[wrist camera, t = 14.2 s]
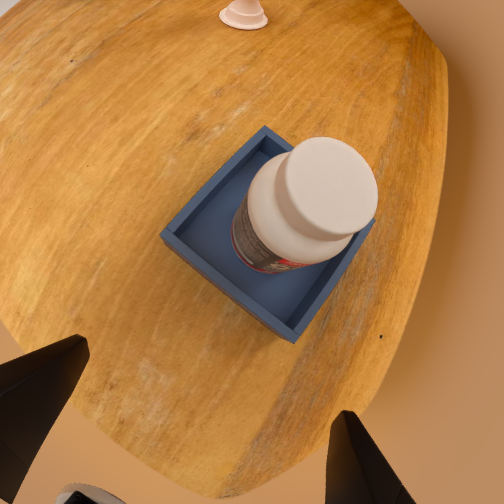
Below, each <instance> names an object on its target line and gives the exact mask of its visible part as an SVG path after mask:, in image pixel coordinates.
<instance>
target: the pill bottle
mask: <svg viewBox="0 0 504 504" xmlns="http://www.w3.org/2000/svg"><path fill="white" fill-rule="evenodd" d="M377 203H378V189H377V184H376V181H375V177H374V175H373V173H372V170H371V169H370V167H369V165H368V164H367V162H366V161H365V160H364V158H363V157H362V156H361V155H360V154H359V153H358V152H357V151H356V150H355V149H353V148H352V147H350V146H349V145H347V144H346V143H344V142H342V141H339V140H337V139H334V138H329V137H315V138H310V139H307V140H305V141H303V142H301V143H300V144H298V145H297V146H296V147H295V148H294V149H293V150H292V151H291V152H286V153H283V154H280V155H278V156H275V157H274V158H272V159H271V160H269V161H268V162H267V163H265V164H264V165H263V166H262V168H261V169H260V170H259V171H258V172H257V174H256V175H255V177H254V179H253V180H252V182H251V185H250V187H249V189H248V191H247V193H246V195H245V197H244V199H243V201H242V202H241V204H240V206H239V208H238V209H237V211H236V213H235V215H234V218H233V221H232V224H231V230H230V234H231V242H232V246H233V249H234V251H235V253H236V254H237V256H238V257H239V259H240V260H241V261H242V262H243V263H244V264H245V265H246V266H248V267H249V268H251V269H253V270H255V271H258V272H261V273H266V274H277V273H283V272H287V271H290V270H294V269H297V268H301V267H305V266H309V265H312V264H316V263H320V262H323V261H325V260H328V259H330V258H332V257H334V256H336V255H337V254H338V253H340V252H341V251H342V250H343V249H344V248H345V247H346V246H347V244H348V243H349V241H350V240H351V238H352V236H353V234H354V233H356V232H358V231H360V230H361V229H363V228H364V227H365V226H366V225H367V224H368V223H369V222H370V221H371V219H372V217H373V216H374V214H375V211H376V208H377Z"/></svg>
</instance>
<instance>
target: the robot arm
mask: <svg viewBox="0 0 504 504" xmlns="http://www.w3.org/2000/svg"><path fill="white" fill-rule="evenodd" d="M89 357H90V352H89V348H88V342H87V339H86V338H85V337H83V336H81V335H78V334H75V335H72V336H70V337H68V338H65V339H63V340H60V341H58V342H55V343H53V344H50V345H48V346H45V347H43V348H41V349H38V350H36V351H33V352H31V353H28V354H26V355H23V356H21V357H18V358H16V359H13V360H11V361H8V362H6V363H3V364H1V365H0V498H1V499H3V500H4V501H5V502H7V503H9V504H12V503H13V501H14V499H15V496H16V495H17V492H18V490H19V488H20V486H21V484H22V482H23V480H24V478H25V476H26V474H27V472H28V470H29V468H30V466H31V464H32V462H33V460H34V458H35V456H36V455H37V452H38V451H39V449H40V447H41V445H42V443H43V442H44V440H45V438H46V436H47V435H48V433H49V431H50V429H51V427H52V426H53V424H54V423H55V421H56V419H57V417H58V416H59V414H60V412H61V411H62V409H63V407H64V406H65V404H66V403H67V401H68V399H69V398H70V396H71V394H72V393H73V391H74V389H75V387H76V385H77V383H78V381H79V379H80V377H81V374H82V372H83V370H84V368H85V366H86V364H87V362H88V360H89ZM64 504H98V503H96V502H95V501H93V500H92V499H90V498H89V497H87V496H86V495H84V494H83V493H81V492H80V491H74V492H73V493H72V494H71V496H70V497H69V498H68V499H67V500H66V501H65V502H64ZM325 504H416V503H415V501H414V500H413V499H412V498H411V496H410V494H409V493H408V492H407V490H406V489H405V487H404V486H403V485H402V483H401V481H400V480H399V478H398V477H397V475H396V474H395V472H394V471H393V469H392V468H391V466H390V465H389V463H388V462H387V460H386V459H385V457H384V456H383V454H382V453H381V451H380V450H379V448H378V447H377V445H376V444H375V442H374V441H373V439H372V438H371V436H370V435H369V433H368V432H367V430H366V429H365V427H364V426H363V424H362V423H361V421H360V420H359V418H358V417H357V415H356V414H355V412H353V411H348V410H343V411H341V412H340V414H339V415H338V416H337V417H336V419H335V420H334V421H333V423H332V425H331V430H330V439H329V447H328V455H327V463H326V495H325Z"/></svg>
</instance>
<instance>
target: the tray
mask: <svg viewBox="0 0 504 504" xmlns="http://www.w3.org/2000/svg"><path fill="white" fill-rule="evenodd" d="M293 149H294V147H293V146H291V145H290V144H289V143H288V142H286V141H285V140H284V139H282V138H281V137H280V136H279V135H277V134H276V133H275V132H273V131H272V130H271V129H269V128H268V127H267V126H265V125H264V126H263V127H262V128H261V129H260V130H259V131H258V132H257V133H256V134H255V135H254V136H253V137H252V138H250V139H249V140H248V141H247V142H246V143H245V144H244V145H243V146H242V147H241V148H240V149H239V150H238V151H237V152H236V153H235V154H234V155H233V156H232V157H231V158H230V159H229V160H228V161H227V162H226V163H225V164H224V165H223V166H222V167H221V168H220V169H219V170H218V171H217V172H216V173H215V174H214V175H213V176H212V177H211V178H210V179H209V181H208V182H207V183H206V184H205V185H204V186H203V187H202V188H201V189H200V190H199V191H198V192H197V193H196V194H195V195H194V196H193V197H192V199H191V200H190V201H189V202H188V203H187V204H186V205H185V206H184V207H183V208H182V210H181V211H180V212H179V213H178V214H177V215H176V216H175V217H174V218H173V220H172V221H171V222H170V223H169V224H168V225H167V226H166V228H165V229H164V230H163V231H162V232H161V233H160V237H161V239H162V240H163V242H164V244H165V245H167V246H168V247H169V248H170V249H171V250H172V251H173V252H175V253H176V254H177V255H178V256H179V257H181V258H182V259H183V260H184V261H185V262H186V263H188V264H189V265H190V266H191V267H192V268H194V269H195V270H196V271H197V272H198V273H200V274H201V275H202V276H203V277H204V278H206V279H207V280H208V281H209V282H210V283H212V284H213V285H214V286H215V287H217V288H218V289H219V290H220V291H222V292H223V293H224V294H225V295H226V296H228V297H229V298H230V299H231V300H233V301H234V302H235V303H236V304H238V305H239V306H240V307H242V308H243V309H244V310H245V311H247V312H248V313H249V314H250V315H252V316H253V317H254V318H256V319H257V320H258V321H259V322H261V323H262V324H263V325H265V326H266V327H267V328H269V329H270V330H271V331H272V332H274V333H275V334H276V335H278V336H279V337H280V338H282V339H284V340H286V341H289V342H291V343H293V344H295V342H296V341H297V340H298V338H299V337H300V336H301V334H302V333H303V331H304V330H305V329H306V327H307V326H308V324H309V323H310V322H311V320H312V319H313V317H314V316H315V315H316V313H317V312H318V310H319V309H320V307H321V306H322V305H323V303H324V302H325V300H326V299H327V297H328V296H329V294H330V293H331V291H332V290H333V288H334V287H335V285H336V284H337V282H338V281H339V279H340V278H341V276H342V275H343V273H344V272H345V270H346V268H347V267H348V265H349V264H350V262H351V261H352V259H353V257H354V256H355V254H356V253H357V251H358V249H359V248H360V246H361V244H362V243H363V241H364V239H365V238H366V236H367V234H368V233H369V231H370V229H371V228H372V226H373V224H374V222H375V220H374V219H373V218H372V219H371V221H370V222H369V223H368V224H367V225H366V226H365V227H364V228H363V229H361V230H360V231H358V232H356V233H354V234H353V236H352V238H351V240H350V241H349V243H348V244H347V246H346V247H345V248H344V249H343V250H342V251H341V252H340V253H338V254H337V255H336V256H334V257H332V258H330V259H328V260H325V261H323V262H320V263H316V264H312V265H309V266H305V267H301V268H297V269H294V270H290V271H287V272H283V273H277V274H266V273H261V272H258V271H255V270H253V269H251V268H249V267H248V266H246V265H245V264H244V263H243V262H242V261H241V260H240V259H239V257H238V256H237V254H236V253H235V251H234V249H233V246H232V242H231V234H230V230H231V224H232V221H233V218H234V215H235V213H236V211H237V209H238V208H239V206H240V204H241V202H242V201H243V199H244V197H245V195H246V193H247V191H248V189H249V187H250V185H251V182H252V180H253V179H254V177H255V175H256V174H257V172H258V171H259V170H260V169H261V168H262V166H263V165H264V164H265V163H267V162H268V161H269V160H271V159H272V158H274V157H275V156H278V155H280V154H283V153H286V152H291V151H292V150H293Z"/></svg>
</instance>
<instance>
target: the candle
mask: <svg viewBox="0 0 504 504" xmlns="http://www.w3.org/2000/svg"><path fill="white" fill-rule="evenodd" d="M219 17H220V19H221V20H222V21H223V22H224V23H225V24H227V25H229V26H231V27H234V28H238V29H245V30H253V29H259V28H262V27H264V26H265V25H266V24H267V21H268V20H267V17H266V16H265V14H263V8H262V7H261V6H260V4H259V0H235V1H234V2H231V3H230V4H229V5H228V7H227V8H225V9H223V10H222V11H221V12H220V14H219Z"/></svg>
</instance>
